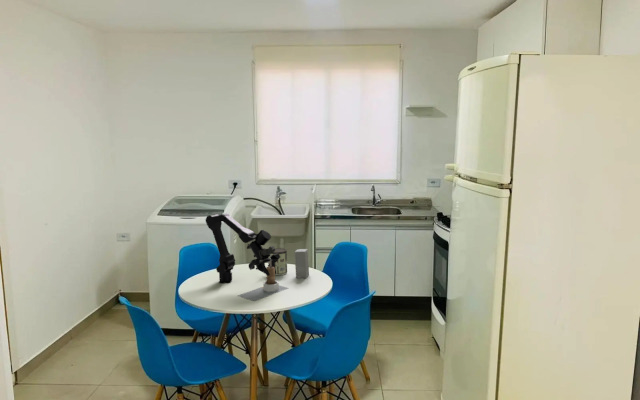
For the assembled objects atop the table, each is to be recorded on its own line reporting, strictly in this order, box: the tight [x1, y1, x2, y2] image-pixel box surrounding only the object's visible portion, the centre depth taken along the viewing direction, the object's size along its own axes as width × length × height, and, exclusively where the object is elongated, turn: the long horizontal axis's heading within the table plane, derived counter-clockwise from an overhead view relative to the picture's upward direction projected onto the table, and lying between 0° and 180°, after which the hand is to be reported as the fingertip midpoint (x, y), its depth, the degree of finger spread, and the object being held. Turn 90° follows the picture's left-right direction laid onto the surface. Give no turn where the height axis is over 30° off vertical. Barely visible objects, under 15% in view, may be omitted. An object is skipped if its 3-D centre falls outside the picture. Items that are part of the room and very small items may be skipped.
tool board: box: [236, 280, 289, 302], centre depth 230 cm, size 25×13×4 cm, turn 141°
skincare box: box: [294, 248, 310, 279], centre depth 259 cm, size 8×7×16 cm
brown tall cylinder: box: [265, 261, 276, 285], centre depth 233 cm, size 4×4×13 cm
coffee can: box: [269, 247, 288, 276], centre depth 266 cm, size 10×10×14 cm
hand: (272, 274), depth 232 cm, fingers closed on brown tall cylinder, 4 cm apart
